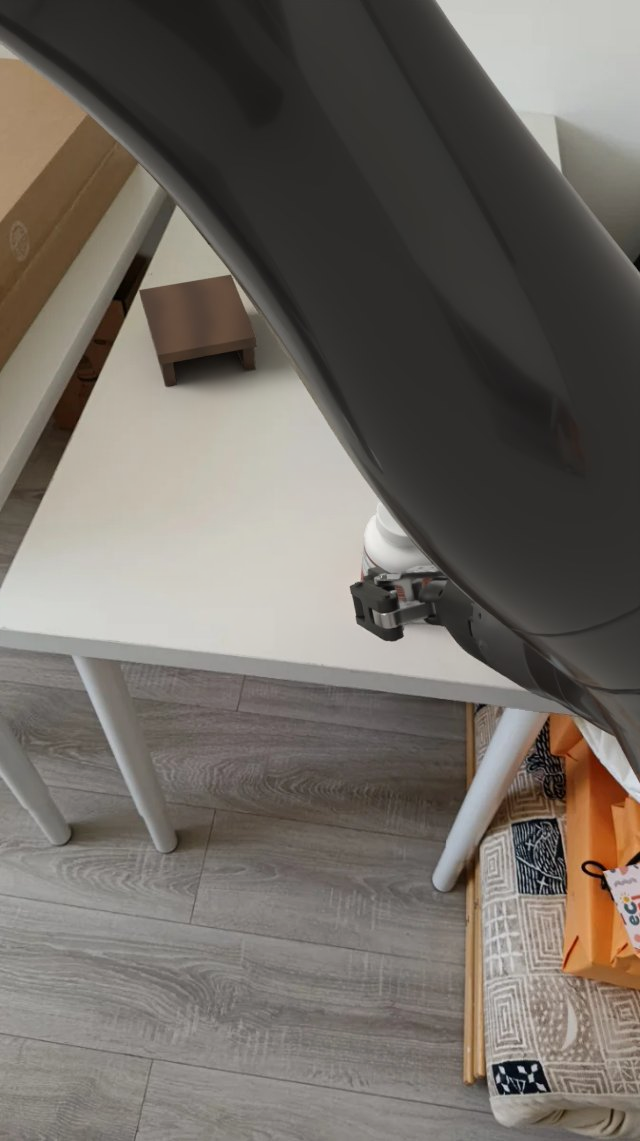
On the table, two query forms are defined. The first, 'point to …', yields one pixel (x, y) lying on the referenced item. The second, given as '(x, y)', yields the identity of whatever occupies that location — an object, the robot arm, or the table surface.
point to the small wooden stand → (198, 322)
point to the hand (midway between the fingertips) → (430, 567)
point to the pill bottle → (389, 548)
